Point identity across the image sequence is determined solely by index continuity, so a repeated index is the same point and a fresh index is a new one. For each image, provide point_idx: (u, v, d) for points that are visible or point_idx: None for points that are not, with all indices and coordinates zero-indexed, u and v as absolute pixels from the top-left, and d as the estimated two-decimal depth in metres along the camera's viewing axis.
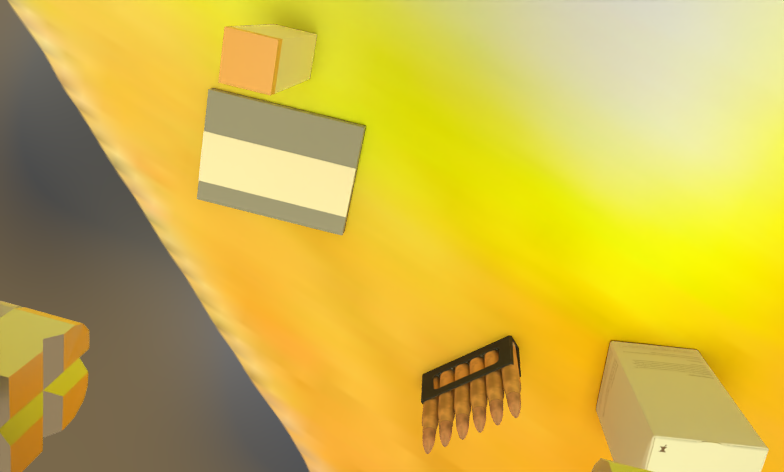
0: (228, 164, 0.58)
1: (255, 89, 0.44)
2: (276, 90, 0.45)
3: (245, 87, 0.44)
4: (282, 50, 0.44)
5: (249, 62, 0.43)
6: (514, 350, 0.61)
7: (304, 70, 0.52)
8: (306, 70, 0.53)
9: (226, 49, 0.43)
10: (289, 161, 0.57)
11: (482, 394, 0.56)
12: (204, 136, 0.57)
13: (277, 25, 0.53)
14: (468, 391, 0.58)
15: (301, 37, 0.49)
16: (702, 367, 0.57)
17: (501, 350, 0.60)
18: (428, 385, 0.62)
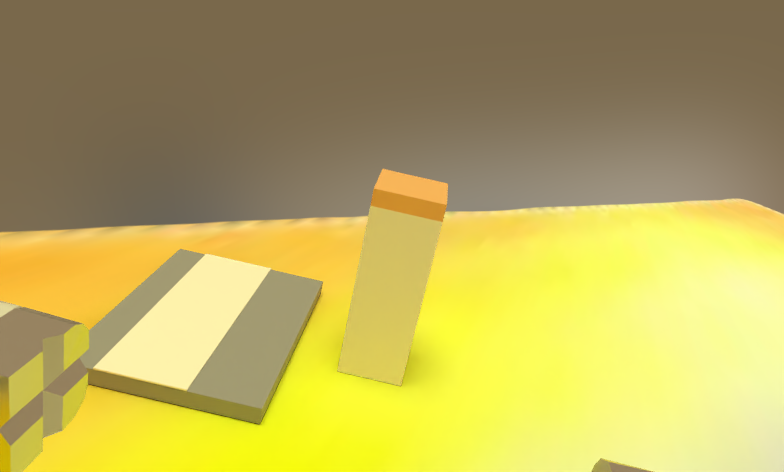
0: (223, 276, 0.42)
1: (379, 182, 0.33)
2: (372, 213, 0.33)
3: (380, 178, 0.34)
4: (425, 225, 0.32)
5: (411, 186, 0.34)
6: None
7: (360, 339, 0.36)
8: (357, 349, 0.36)
9: (422, 179, 0.35)
10: (216, 323, 0.37)
11: None
12: (264, 267, 0.44)
13: None
14: None
15: (419, 308, 0.34)
16: None
17: None
18: None
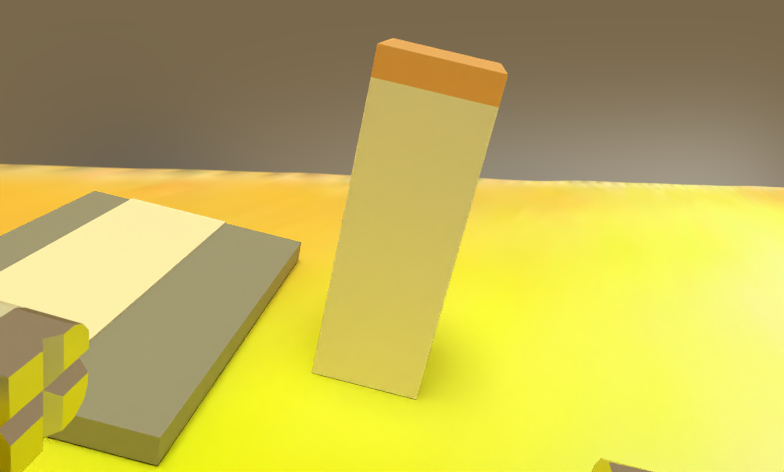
0: (149, 227, 0.28)
1: (387, 42, 0.19)
2: (374, 91, 0.18)
3: (389, 41, 0.20)
4: (468, 114, 0.18)
5: (443, 54, 0.20)
6: None
7: (351, 319, 0.21)
8: (345, 336, 0.22)
9: (459, 54, 0.21)
10: (117, 290, 0.22)
11: None
12: (215, 220, 0.30)
13: None
14: None
15: (451, 267, 0.20)
16: None
17: None
18: None
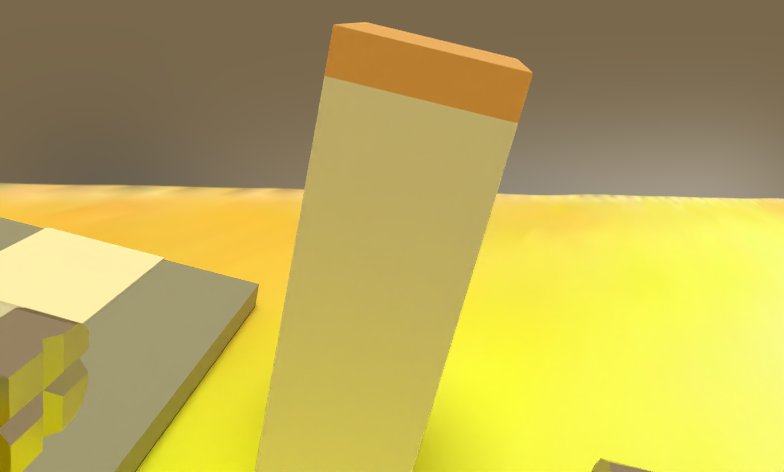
0: (58, 268, 0.22)
1: (351, 25, 0.13)
2: (329, 97, 0.12)
3: (356, 24, 0.13)
4: (471, 133, 0.12)
5: (435, 43, 0.13)
6: None
7: (303, 418, 0.15)
8: (296, 440, 0.15)
9: (458, 45, 0.15)
10: None
11: None
12: (151, 255, 0.24)
13: None
14: None
15: (445, 351, 0.14)
16: None
17: None
18: None
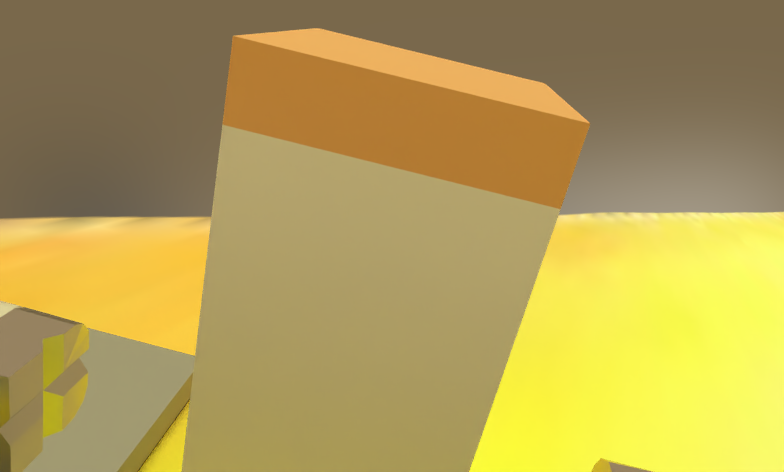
0: None
1: (277, 35, 0.08)
2: (233, 161, 0.07)
3: (291, 33, 0.08)
4: (478, 224, 0.07)
5: (418, 64, 0.08)
6: None
7: None
8: None
9: (456, 63, 0.10)
10: None
11: None
12: None
13: None
14: None
15: None
16: None
17: None
18: None
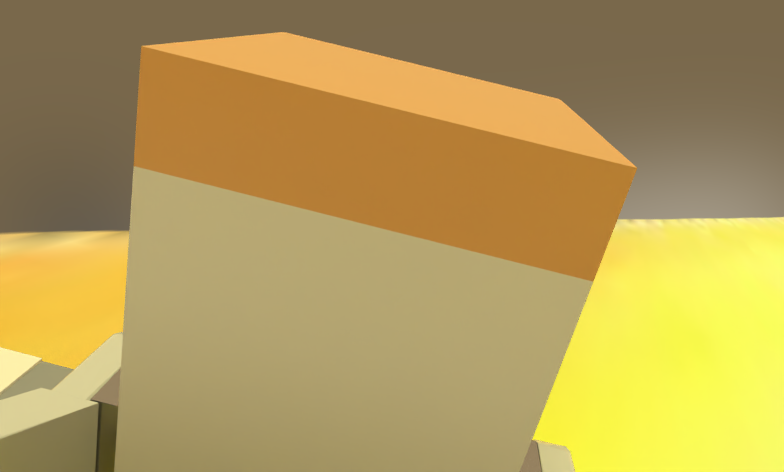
0: None
1: (217, 43, 0.06)
2: (151, 214, 0.05)
3: (241, 39, 0.07)
4: (481, 300, 0.05)
5: (403, 80, 0.06)
6: None
7: None
8: None
9: (452, 75, 0.08)
10: None
11: None
12: (22, 356, 0.17)
13: None
14: None
15: None
16: None
17: None
18: None
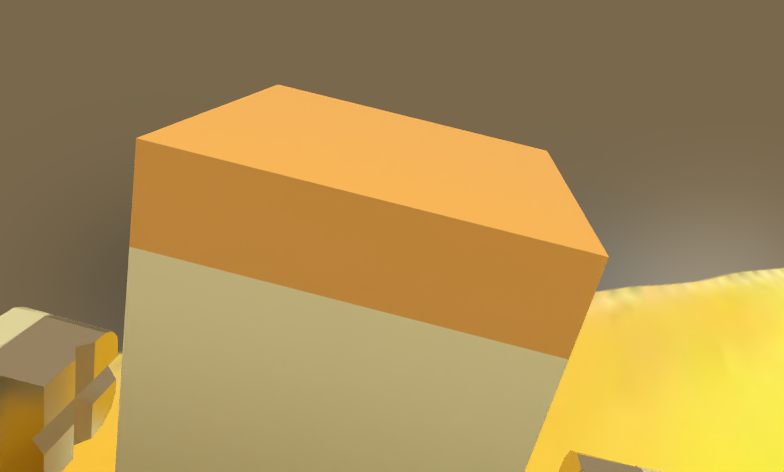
0: None
1: (210, 118, 0.06)
2: (146, 291, 0.05)
3: (234, 107, 0.07)
4: (462, 375, 0.05)
5: (391, 147, 0.07)
6: None
7: None
8: None
9: (442, 129, 0.08)
10: None
11: None
12: None
13: None
14: None
15: None
16: None
17: None
18: None
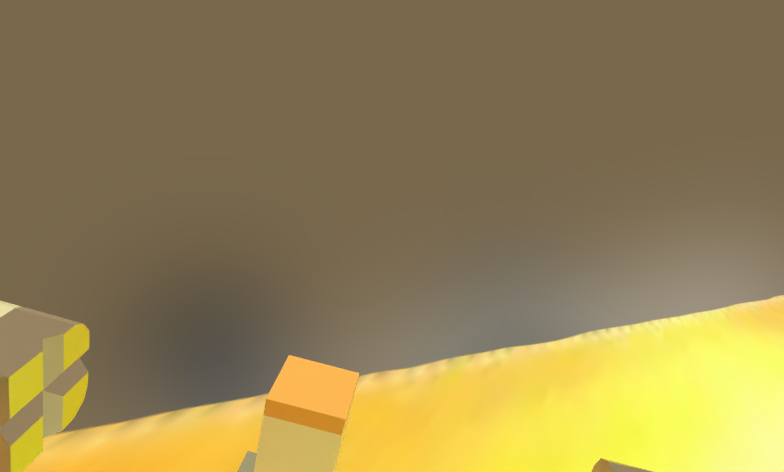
0: None
1: (276, 385, 0.30)
2: (266, 422, 0.30)
3: (280, 376, 0.31)
4: (323, 437, 0.30)
5: (314, 386, 0.31)
6: None
7: None
8: None
9: (331, 369, 0.32)
10: None
11: None
12: None
13: None
14: None
15: None
16: None
17: None
18: None
